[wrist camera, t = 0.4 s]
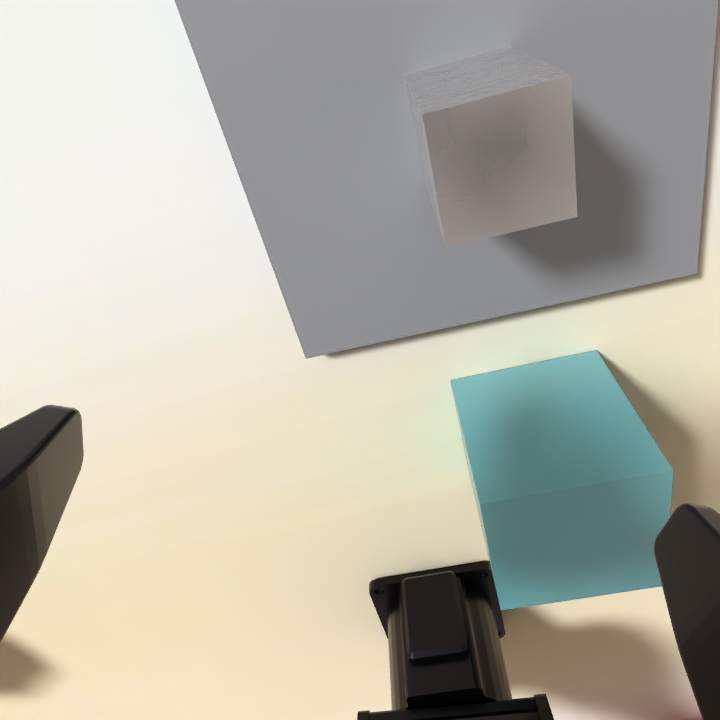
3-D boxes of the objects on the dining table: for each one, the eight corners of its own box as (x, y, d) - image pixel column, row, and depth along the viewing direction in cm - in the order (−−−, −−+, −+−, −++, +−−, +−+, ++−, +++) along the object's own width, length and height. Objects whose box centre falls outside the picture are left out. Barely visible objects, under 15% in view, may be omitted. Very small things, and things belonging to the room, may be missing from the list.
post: (520, 154, 18) (577, 216, 13) (423, 178, 18) (446, 247, 13) (510, 45, 16) (571, 74, 11) (403, 75, 16) (421, 114, 12)
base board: (683, 261, 21) (697, 273, 20) (307, 344, 22) (305, 358, 22) (719, -294, 13) (743, -312, 12) (148, -101, 15) (135, -106, 14)
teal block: (599, 455, 26) (665, 585, 20) (470, 479, 27) (500, 610, 21) (596, 350, 23) (673, 470, 17) (450, 380, 24) (479, 504, 18)
